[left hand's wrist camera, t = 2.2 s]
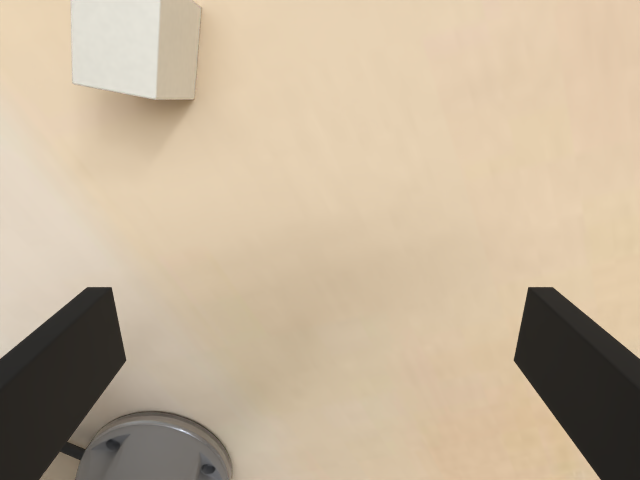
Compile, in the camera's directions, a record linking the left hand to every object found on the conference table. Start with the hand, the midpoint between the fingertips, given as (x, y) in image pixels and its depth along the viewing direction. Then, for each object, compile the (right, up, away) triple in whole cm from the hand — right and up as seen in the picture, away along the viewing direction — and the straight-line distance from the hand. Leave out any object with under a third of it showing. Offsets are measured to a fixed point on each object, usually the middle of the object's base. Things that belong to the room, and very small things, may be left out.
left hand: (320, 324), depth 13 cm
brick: (-11, +17, +16) cm, 26 cm away
